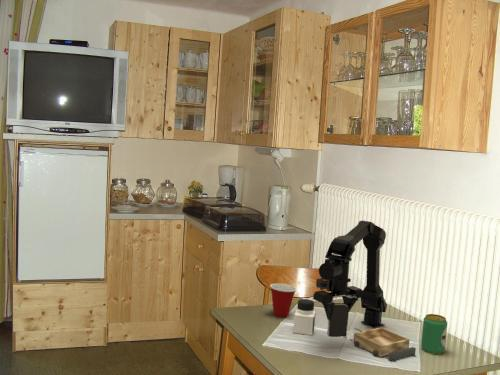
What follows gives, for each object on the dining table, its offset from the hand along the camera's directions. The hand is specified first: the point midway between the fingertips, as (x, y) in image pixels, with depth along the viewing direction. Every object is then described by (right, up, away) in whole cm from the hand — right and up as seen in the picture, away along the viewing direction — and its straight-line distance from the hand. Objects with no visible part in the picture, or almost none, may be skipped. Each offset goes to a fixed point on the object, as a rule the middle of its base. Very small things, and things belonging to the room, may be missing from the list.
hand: (336, 318), depth 193 cm
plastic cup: (-18, -6, +30) cm, 36 cm away
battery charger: (0, -6, +1) cm, 6 cm away
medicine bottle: (-10, -8, +14) cm, 19 cm away
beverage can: (+34, -12, +2) cm, 36 cm away
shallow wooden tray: (+16, -11, +2) cm, 19 cm away
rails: (+14, -10, +5) cm, 18 cm away
